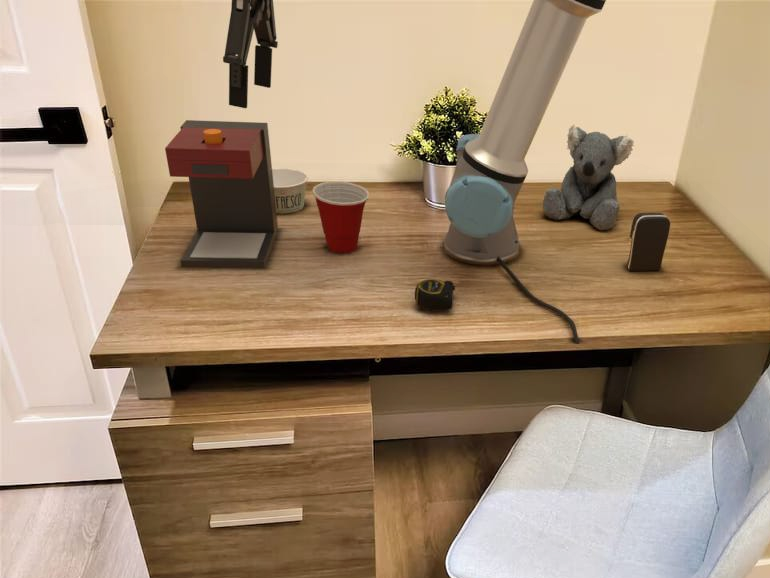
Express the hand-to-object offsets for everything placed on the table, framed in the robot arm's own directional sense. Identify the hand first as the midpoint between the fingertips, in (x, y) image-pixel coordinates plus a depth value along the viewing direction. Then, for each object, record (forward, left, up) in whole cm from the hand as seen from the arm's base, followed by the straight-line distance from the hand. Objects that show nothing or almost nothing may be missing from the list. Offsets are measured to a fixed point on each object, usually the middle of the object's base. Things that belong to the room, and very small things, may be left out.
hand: (250, 95), depth 123 cm
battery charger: (-37, -63, -31) cm, 80 cm away
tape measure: (-30, -19, -31) cm, 47 cm away
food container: (+25, -13, -31) cm, 42 cm away
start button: (+6, +5, -9) cm, 13 cm away
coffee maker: (+9, +4, -31) cm, 32 cm away
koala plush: (-10, -72, -31) cm, 79 cm away
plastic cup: (-1, -15, -31) cm, 34 cm away
